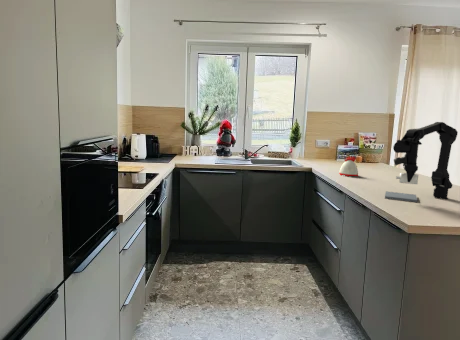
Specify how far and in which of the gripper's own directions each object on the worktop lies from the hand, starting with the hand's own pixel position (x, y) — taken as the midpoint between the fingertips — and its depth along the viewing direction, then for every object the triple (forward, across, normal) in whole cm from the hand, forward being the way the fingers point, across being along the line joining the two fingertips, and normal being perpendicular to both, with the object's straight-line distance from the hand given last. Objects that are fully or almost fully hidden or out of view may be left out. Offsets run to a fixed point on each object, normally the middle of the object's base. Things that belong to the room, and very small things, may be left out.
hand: (408, 181), depth 199 cm
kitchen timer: (+11, -74, -37) cm, 83 cm away
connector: (+1, 0, 0) cm, 1 cm away
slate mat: (+10, -4, -3) cm, 11 cm away
